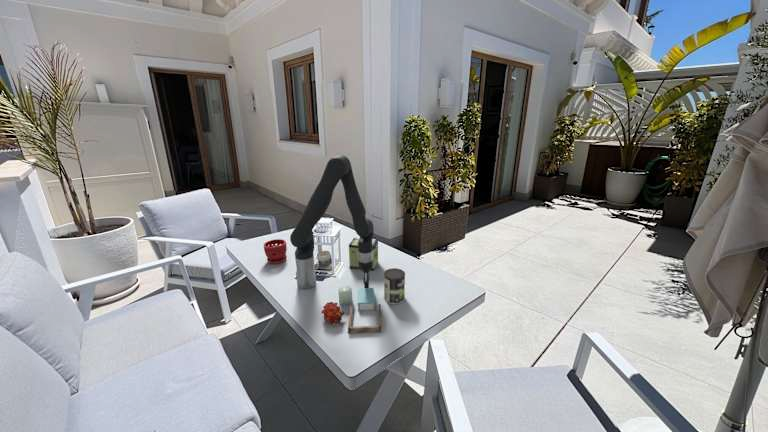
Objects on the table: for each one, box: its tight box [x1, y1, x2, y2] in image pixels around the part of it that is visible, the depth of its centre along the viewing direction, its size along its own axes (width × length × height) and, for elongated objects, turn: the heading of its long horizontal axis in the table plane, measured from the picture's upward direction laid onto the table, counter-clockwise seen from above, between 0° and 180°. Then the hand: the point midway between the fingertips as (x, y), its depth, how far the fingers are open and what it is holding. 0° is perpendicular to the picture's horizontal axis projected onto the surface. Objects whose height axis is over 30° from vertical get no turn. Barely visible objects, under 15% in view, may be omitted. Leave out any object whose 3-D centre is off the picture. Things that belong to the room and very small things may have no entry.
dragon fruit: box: [321, 301, 345, 325], centre depth 133 cm, size 8×8×12 cm
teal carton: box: [357, 287, 376, 311], centre depth 145 cm, size 8×12×4 cm, turn 4°
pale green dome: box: [337, 285, 353, 307], centre depth 145 cm, size 6×6×7 cm
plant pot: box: [263, 238, 288, 264], centre depth 185 cm, size 13×13×12 cm
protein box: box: [348, 237, 379, 271], centre depth 178 cm, size 10×16×16 cm
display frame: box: [347, 303, 382, 334], centre depth 133 cm, size 14×16×2 cm
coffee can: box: [383, 268, 406, 305], centre depth 146 cm, size 10×10×14 cm
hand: (366, 288), depth 154 cm, fingers closed
